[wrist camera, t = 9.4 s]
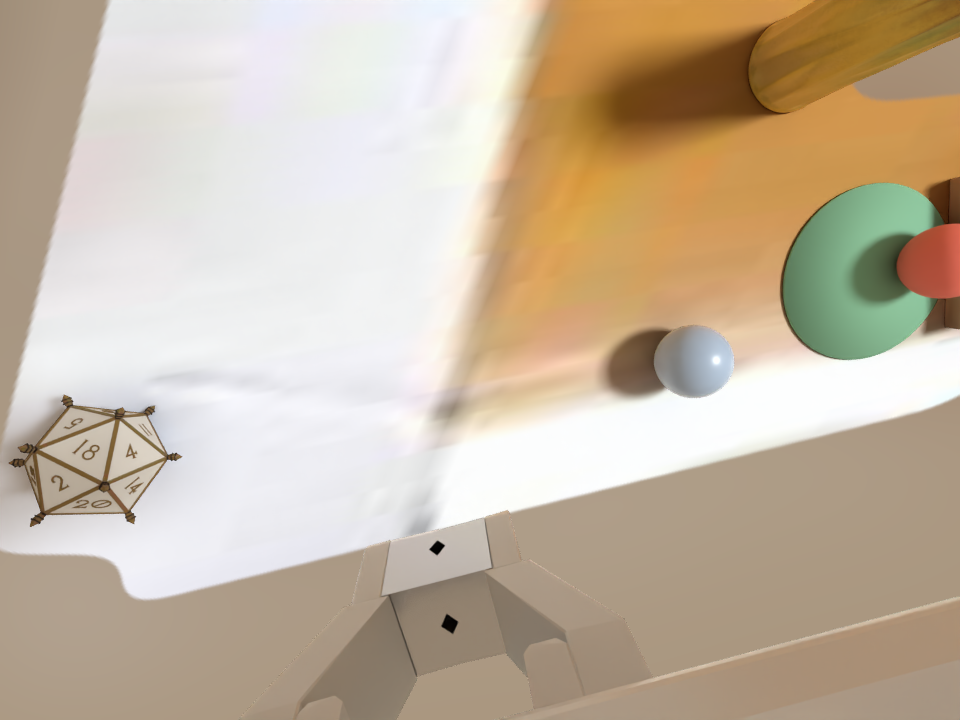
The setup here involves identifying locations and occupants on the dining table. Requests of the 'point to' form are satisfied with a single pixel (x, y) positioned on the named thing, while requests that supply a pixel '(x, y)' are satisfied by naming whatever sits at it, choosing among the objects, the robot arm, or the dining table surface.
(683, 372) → the blue ball
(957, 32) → the vase
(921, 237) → the red ball
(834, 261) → the green mark
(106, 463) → the game die
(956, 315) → the walnut stop
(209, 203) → the dining table surface
